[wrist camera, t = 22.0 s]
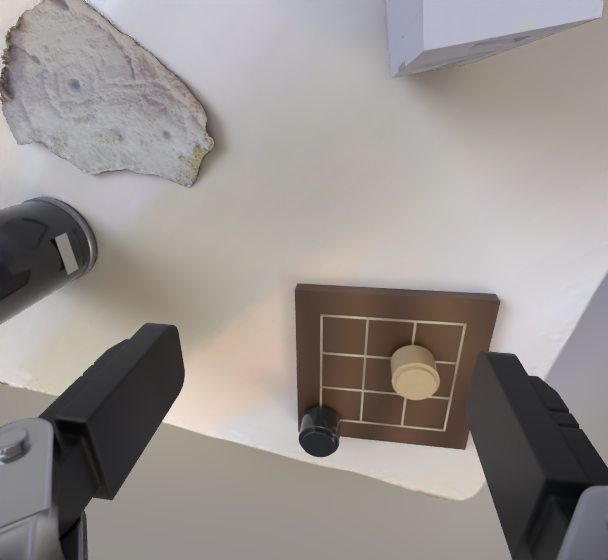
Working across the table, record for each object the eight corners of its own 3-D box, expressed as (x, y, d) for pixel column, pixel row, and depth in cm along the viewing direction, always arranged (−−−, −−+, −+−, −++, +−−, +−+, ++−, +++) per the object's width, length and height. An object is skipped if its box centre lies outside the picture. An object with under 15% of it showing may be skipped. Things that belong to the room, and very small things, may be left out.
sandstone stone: (387, 375, 42) (390, 401, 38) (391, 340, 40) (394, 364, 36) (431, 379, 41) (437, 405, 38) (437, 343, 39) (444, 368, 36)
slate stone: (303, 430, 47) (298, 457, 44) (302, 402, 45) (297, 427, 42) (340, 434, 47) (338, 461, 43) (341, 405, 45) (339, 432, 41)
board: (300, 423, 49) (298, 432, 47) (297, 283, 40) (294, 290, 39) (462, 439, 46) (465, 450, 45) (495, 294, 38) (500, 301, 36)
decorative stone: (-1, 125, 37) (-13, 126, 36) (19, -37, 31) (5, -42, 30) (185, 223, 39) (180, 227, 38) (237, 87, 33) (232, 86, 32)
